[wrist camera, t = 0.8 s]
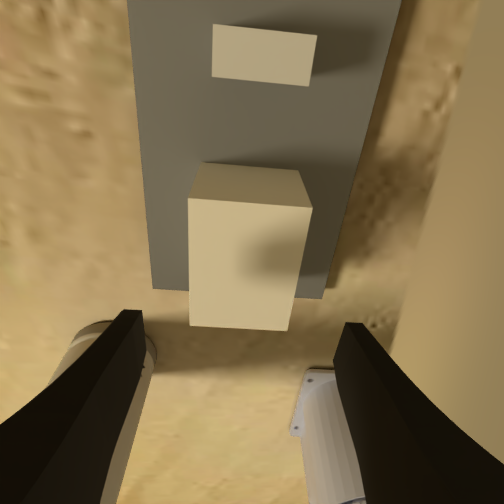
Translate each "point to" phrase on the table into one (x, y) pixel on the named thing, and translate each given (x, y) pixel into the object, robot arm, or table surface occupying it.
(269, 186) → the cream rectangular block
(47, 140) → the table surface
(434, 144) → the table surface
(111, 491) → the travel mug
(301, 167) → the board
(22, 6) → the table surface
